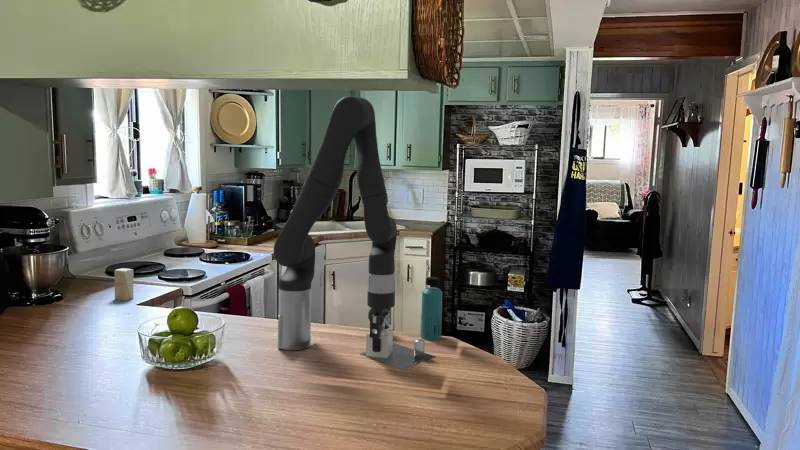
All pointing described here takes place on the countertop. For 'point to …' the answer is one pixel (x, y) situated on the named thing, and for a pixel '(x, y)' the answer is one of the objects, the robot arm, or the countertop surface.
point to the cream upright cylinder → (123, 284)
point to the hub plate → (405, 355)
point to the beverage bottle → (431, 311)
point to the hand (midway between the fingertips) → (380, 346)
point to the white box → (385, 344)
